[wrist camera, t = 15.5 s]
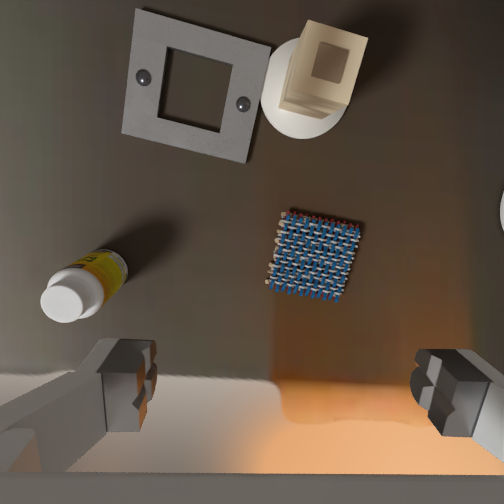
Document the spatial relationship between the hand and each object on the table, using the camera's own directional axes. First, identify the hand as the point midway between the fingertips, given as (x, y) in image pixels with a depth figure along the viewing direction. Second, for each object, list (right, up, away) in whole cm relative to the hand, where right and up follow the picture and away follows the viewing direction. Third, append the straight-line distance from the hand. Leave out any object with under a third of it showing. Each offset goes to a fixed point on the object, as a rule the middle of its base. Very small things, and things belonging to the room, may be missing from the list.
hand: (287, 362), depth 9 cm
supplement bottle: (-20, +1, +29) cm, 35 cm away
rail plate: (-7, +21, +24) cm, 33 cm away
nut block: (+5, +21, +24) cm, 32 cm away
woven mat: (+7, +3, +30) cm, 31 cm away
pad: (+5, +21, +24) cm, 33 cm away
